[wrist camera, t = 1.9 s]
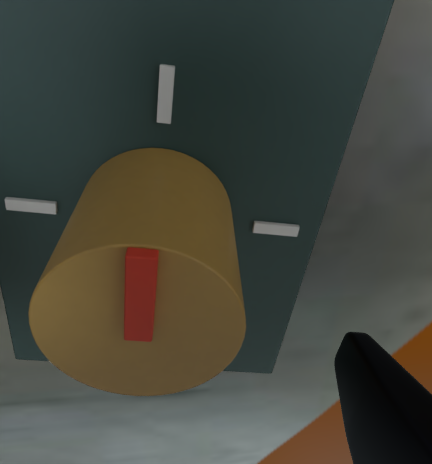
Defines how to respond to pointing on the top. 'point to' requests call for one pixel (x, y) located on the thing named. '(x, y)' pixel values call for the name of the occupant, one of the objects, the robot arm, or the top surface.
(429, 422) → the robot arm
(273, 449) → the top surface
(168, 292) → the tap knob
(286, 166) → the green dial base
